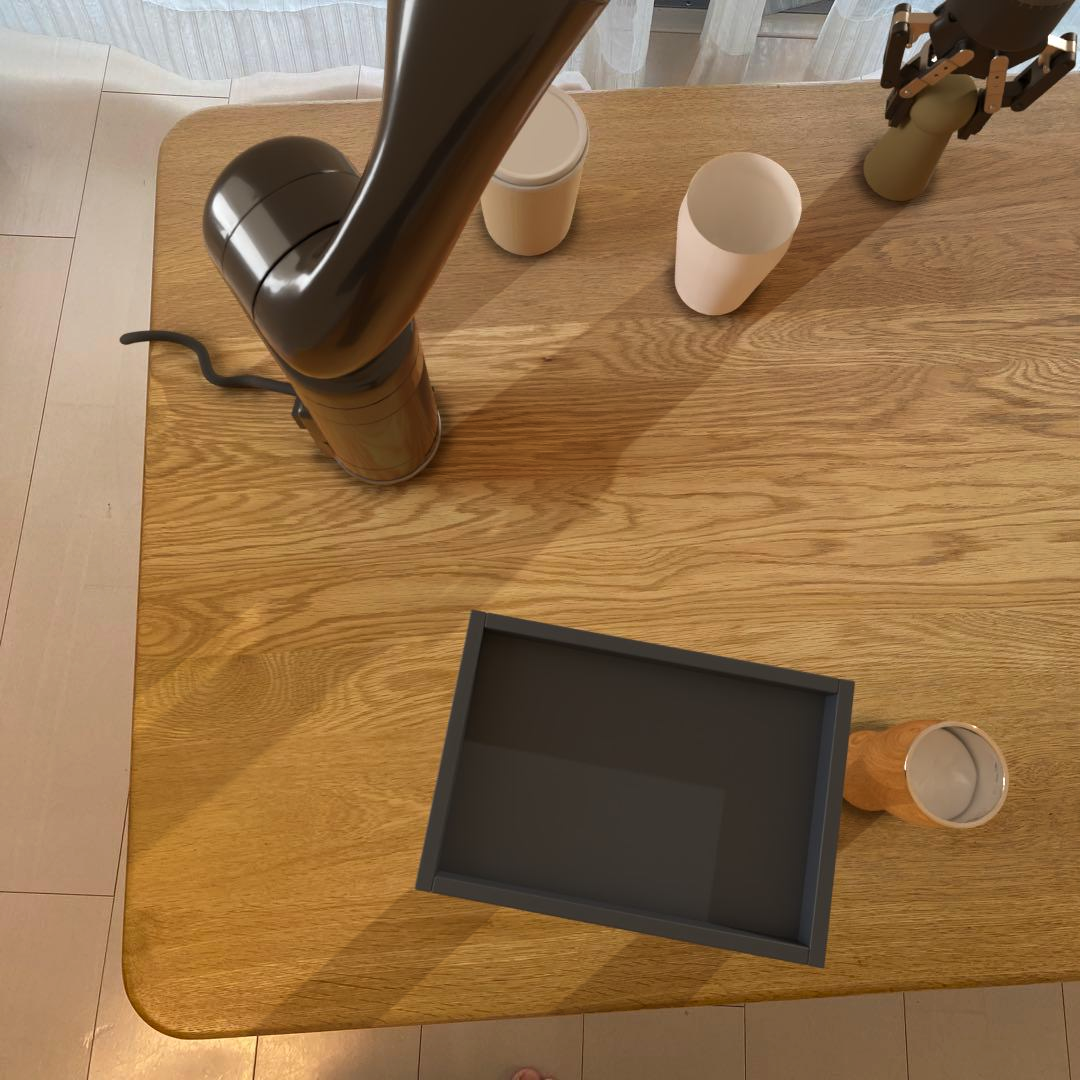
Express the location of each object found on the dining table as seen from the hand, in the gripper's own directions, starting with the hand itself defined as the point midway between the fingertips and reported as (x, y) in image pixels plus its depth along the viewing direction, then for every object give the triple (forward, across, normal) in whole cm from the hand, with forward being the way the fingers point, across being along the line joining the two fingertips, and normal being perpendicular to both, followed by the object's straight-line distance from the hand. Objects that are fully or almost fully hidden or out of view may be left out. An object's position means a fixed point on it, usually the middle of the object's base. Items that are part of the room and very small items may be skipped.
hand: (927, 123), depth 78 cm
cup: (+7, +15, +14) cm, 21 cm away
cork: (+7, 0, 0) cm, 7 cm away
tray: (+7, +18, +57) cm, 60 cm away
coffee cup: (+7, +32, +11) cm, 34 cm away
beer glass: (+7, -3, +53) cm, 53 cm away
